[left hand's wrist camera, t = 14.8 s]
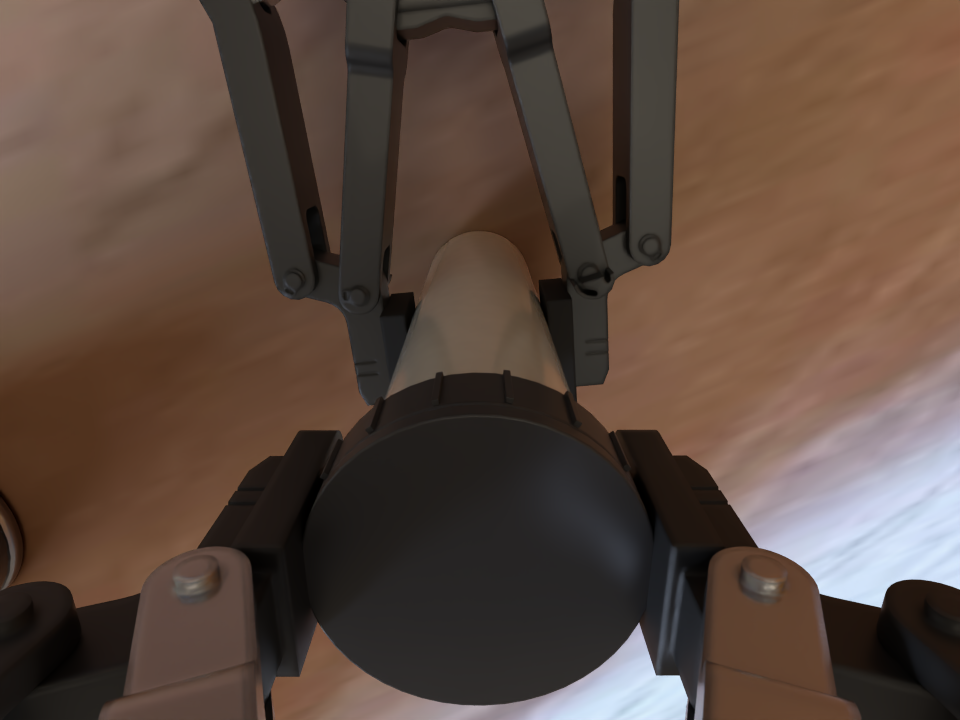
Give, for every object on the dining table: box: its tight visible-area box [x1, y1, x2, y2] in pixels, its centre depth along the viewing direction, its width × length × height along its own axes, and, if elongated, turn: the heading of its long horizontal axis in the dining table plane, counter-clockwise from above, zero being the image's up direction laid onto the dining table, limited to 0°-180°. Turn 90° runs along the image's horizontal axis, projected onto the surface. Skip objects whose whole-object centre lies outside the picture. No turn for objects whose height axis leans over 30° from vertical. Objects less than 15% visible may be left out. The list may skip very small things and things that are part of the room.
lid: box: [302, 370, 654, 705], centre depth 10 cm, size 5×5×2 cm
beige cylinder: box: [384, 231, 570, 400], centre depth 18 cm, size 4×4×18 cm
